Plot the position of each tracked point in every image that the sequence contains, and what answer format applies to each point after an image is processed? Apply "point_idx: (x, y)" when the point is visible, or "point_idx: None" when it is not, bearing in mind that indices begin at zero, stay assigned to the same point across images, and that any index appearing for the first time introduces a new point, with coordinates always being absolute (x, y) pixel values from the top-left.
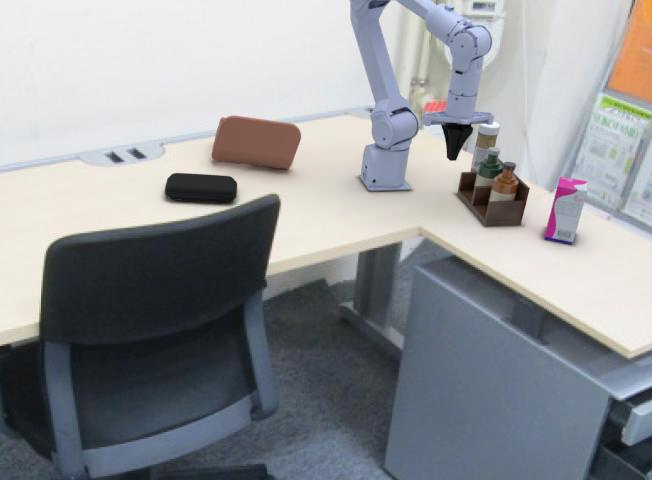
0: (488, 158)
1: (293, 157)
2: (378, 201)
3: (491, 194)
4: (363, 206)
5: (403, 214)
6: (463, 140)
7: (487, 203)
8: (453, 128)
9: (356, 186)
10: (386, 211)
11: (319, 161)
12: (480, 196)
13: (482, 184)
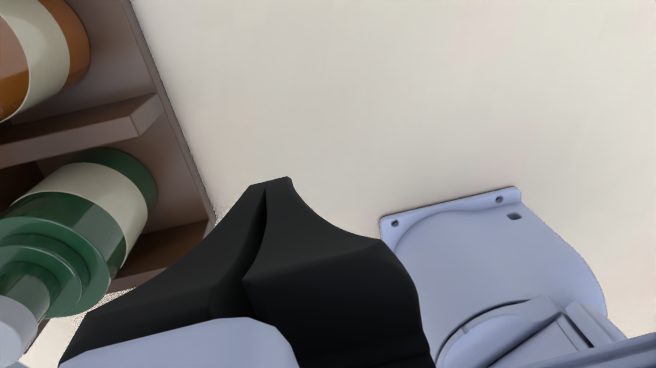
0: (39, 287)
1: None
2: (508, 113)
3: (38, 40)
4: (576, 60)
5: (447, 8)
6: (201, 255)
7: (89, 109)
8: (339, 337)
9: (542, 214)
10: (506, 27)
11: None
12: (115, 109)
13: (103, 183)
